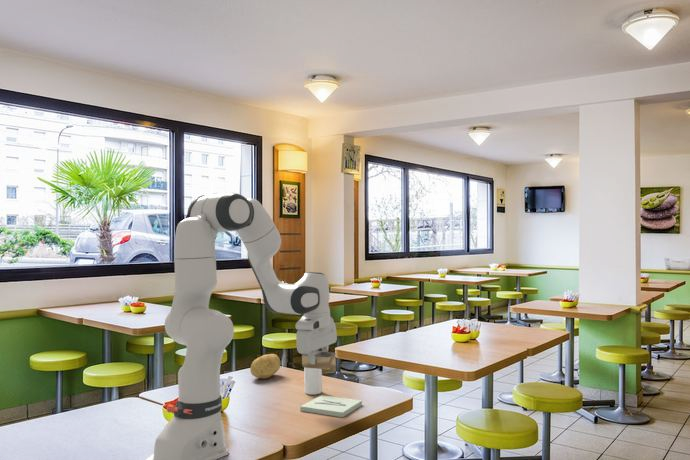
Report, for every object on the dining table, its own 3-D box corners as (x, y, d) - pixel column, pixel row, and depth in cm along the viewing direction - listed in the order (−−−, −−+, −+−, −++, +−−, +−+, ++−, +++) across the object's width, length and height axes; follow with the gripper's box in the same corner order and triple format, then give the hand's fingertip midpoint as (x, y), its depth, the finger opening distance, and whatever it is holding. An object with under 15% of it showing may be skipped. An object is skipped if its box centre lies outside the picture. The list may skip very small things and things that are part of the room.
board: (342, 417, 177) (342, 412, 177) (300, 410, 185) (300, 406, 185) (362, 405, 190) (361, 400, 190) (321, 399, 197) (321, 394, 197)
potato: (286, 377, 229) (285, 354, 230) (254, 383, 221) (254, 359, 221) (274, 372, 238) (274, 350, 238) (243, 378, 229) (243, 355, 229)
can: (302, 391, 207) (301, 359, 207) (318, 389, 210) (317, 357, 210) (308, 396, 201) (307, 363, 201) (324, 393, 204) (324, 361, 204)
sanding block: (328, 369, 180) (327, 355, 180) (302, 367, 185) (301, 353, 185) (335, 366, 185) (335, 352, 185) (310, 363, 189) (309, 350, 189)
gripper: (324, 314, 195) (326, 354, 196) (292, 325, 177) (293, 368, 178) (340, 315, 192) (342, 355, 192) (308, 326, 174) (310, 369, 175)
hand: (318, 361), depth 185 cm, fingers closed on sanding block, 5 cm apart
